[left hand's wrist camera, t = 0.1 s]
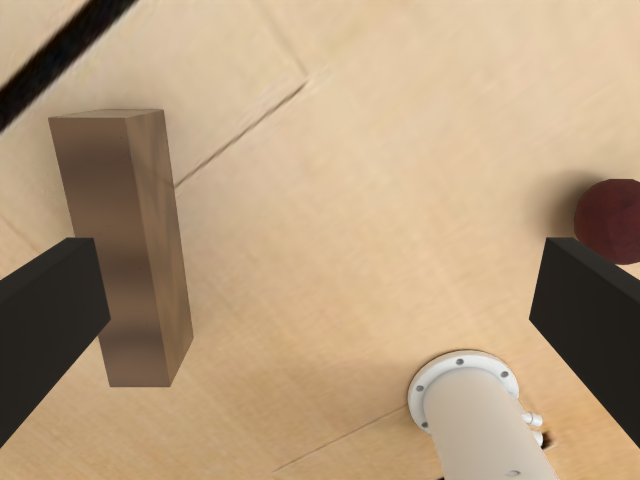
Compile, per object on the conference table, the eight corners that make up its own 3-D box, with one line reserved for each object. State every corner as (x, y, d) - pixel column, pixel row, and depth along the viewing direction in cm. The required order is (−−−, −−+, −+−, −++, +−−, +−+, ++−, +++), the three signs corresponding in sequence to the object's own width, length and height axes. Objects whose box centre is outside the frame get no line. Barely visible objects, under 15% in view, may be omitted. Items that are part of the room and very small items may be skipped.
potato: (574, 258, 42) (621, 291, 36) (545, 197, 40) (589, 220, 34) (646, 220, 41) (708, 247, 34) (620, 154, 39) (681, 170, 32)
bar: (100, 109, 37) (47, 117, 30) (163, 109, 37) (125, 117, 30) (142, 338, 46) (109, 387, 39) (193, 338, 46) (170, 387, 39)
